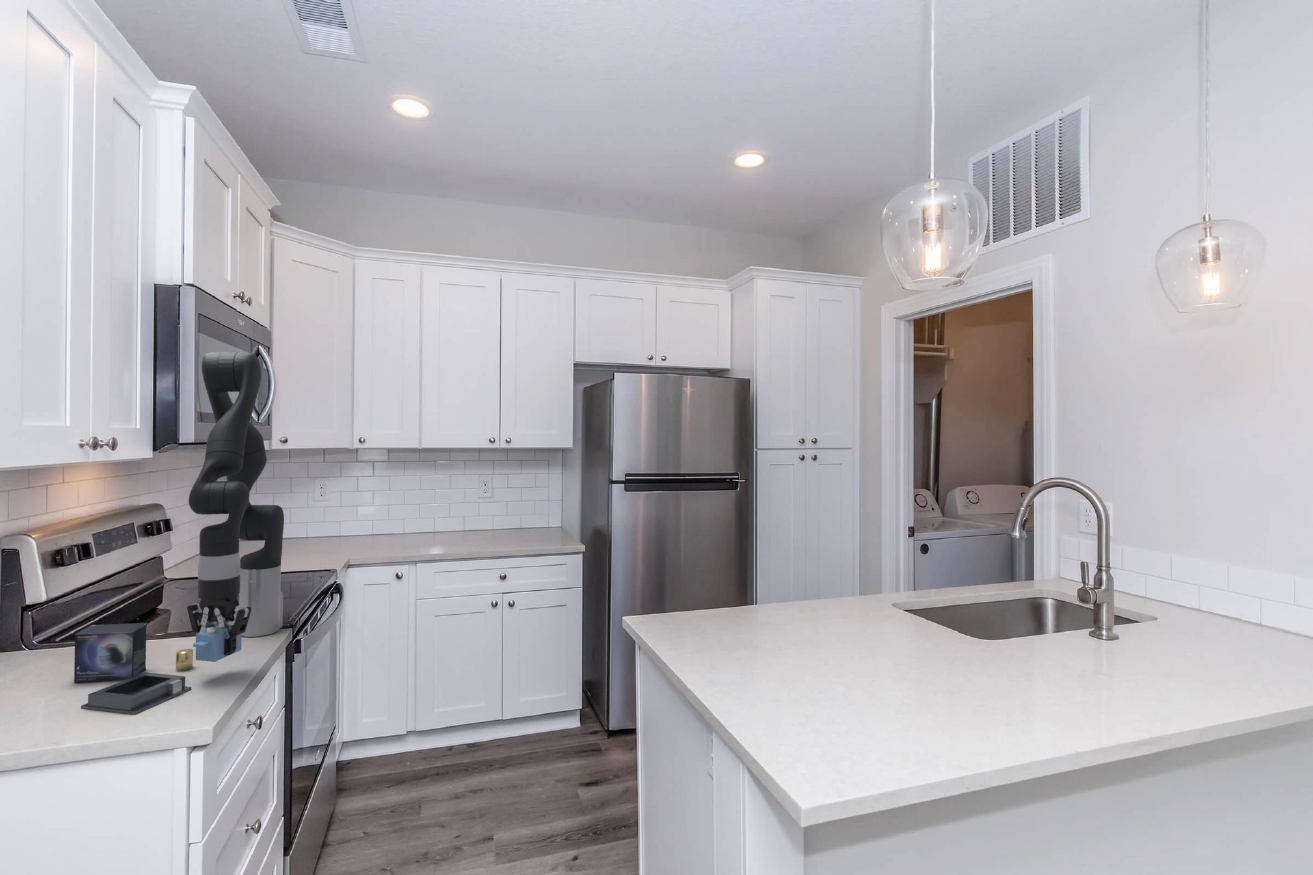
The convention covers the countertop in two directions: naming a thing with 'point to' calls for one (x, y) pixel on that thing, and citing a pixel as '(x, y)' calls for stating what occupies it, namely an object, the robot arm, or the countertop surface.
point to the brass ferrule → (184, 660)
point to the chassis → (137, 693)
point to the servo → (212, 644)
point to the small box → (110, 652)
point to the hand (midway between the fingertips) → (218, 652)
